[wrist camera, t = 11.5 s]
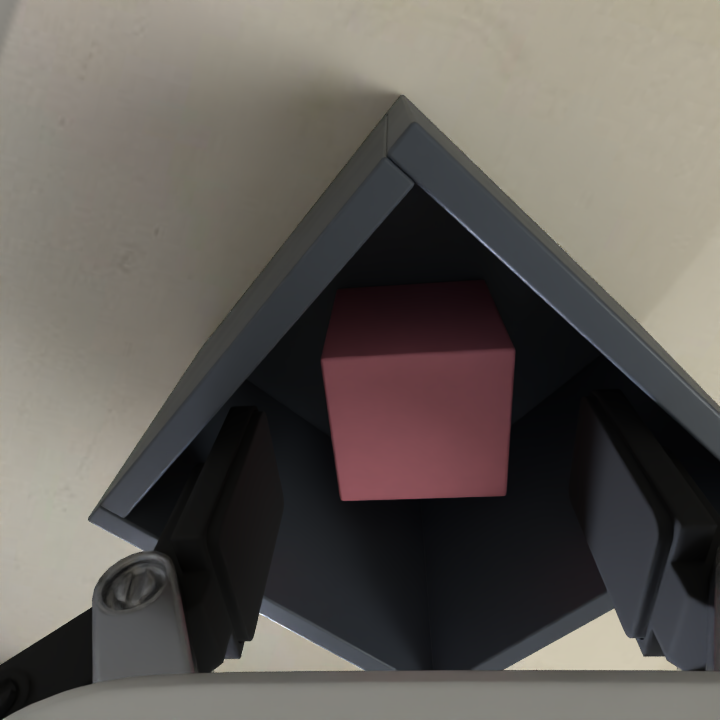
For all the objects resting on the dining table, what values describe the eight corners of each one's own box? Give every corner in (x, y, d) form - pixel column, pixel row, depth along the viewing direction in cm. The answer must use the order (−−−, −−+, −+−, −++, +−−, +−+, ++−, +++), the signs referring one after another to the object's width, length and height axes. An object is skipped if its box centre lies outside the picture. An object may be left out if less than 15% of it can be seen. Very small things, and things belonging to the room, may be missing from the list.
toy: (350, 409, 18) (339, 502, 14) (336, 288, 16) (319, 359, 12) (481, 403, 18) (506, 497, 14) (485, 278, 15) (516, 349, 12)
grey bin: (419, 502, 21) (434, 709, 14) (198, 351, 18) (85, 521, 11) (642, 326, 17) (811, 501, 10) (401, 93, 14) (414, 119, 7)
